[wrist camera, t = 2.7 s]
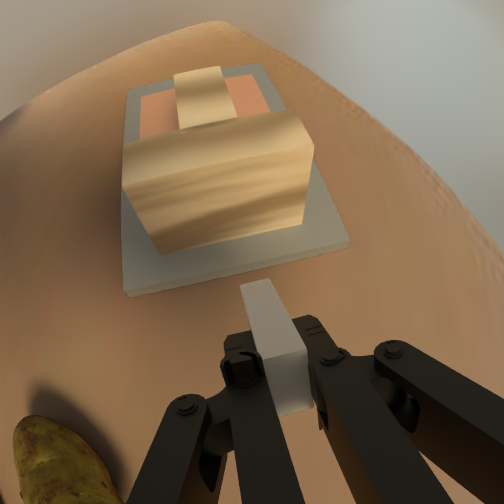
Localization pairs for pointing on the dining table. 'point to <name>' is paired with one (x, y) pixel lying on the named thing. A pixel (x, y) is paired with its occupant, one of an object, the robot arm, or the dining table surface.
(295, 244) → the board
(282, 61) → the dining table surface
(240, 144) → the t block
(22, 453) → the potato
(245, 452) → the robot arm
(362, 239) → the dining table surface
